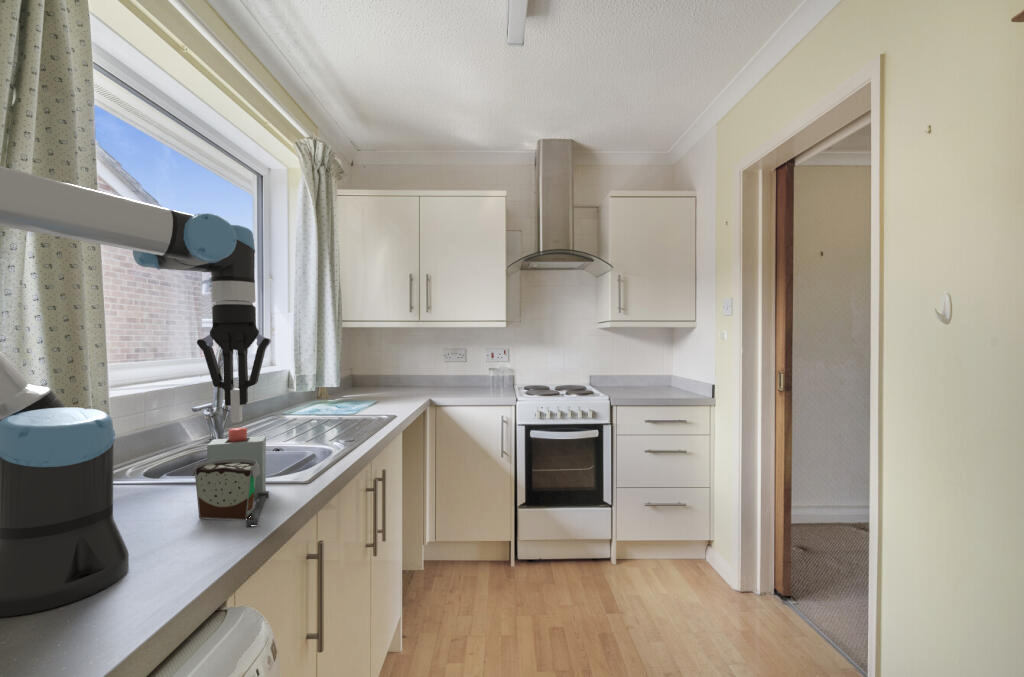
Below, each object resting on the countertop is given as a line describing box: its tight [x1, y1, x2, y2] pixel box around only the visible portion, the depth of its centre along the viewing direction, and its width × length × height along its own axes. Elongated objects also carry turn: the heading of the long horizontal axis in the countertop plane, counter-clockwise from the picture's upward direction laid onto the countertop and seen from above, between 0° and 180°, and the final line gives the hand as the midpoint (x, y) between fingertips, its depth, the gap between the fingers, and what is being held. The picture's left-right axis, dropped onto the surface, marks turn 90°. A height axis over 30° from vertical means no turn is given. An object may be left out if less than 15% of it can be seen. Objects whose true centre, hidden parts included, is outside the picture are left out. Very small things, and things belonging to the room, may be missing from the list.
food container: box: [191, 458, 260, 521], centre depth 90 cm, size 12×6×10 cm, turn 85°
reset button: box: [227, 427, 248, 442], centre depth 100 cm, size 3×3×2 cm
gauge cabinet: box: [206, 435, 267, 500], centre depth 99 cm, size 10×6×12 cm, turn 111°
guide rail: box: [245, 490, 270, 527], centre depth 92 cm, size 2×17×1 cm, turn 22°
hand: (236, 421), depth 94 cm, fingers closed
